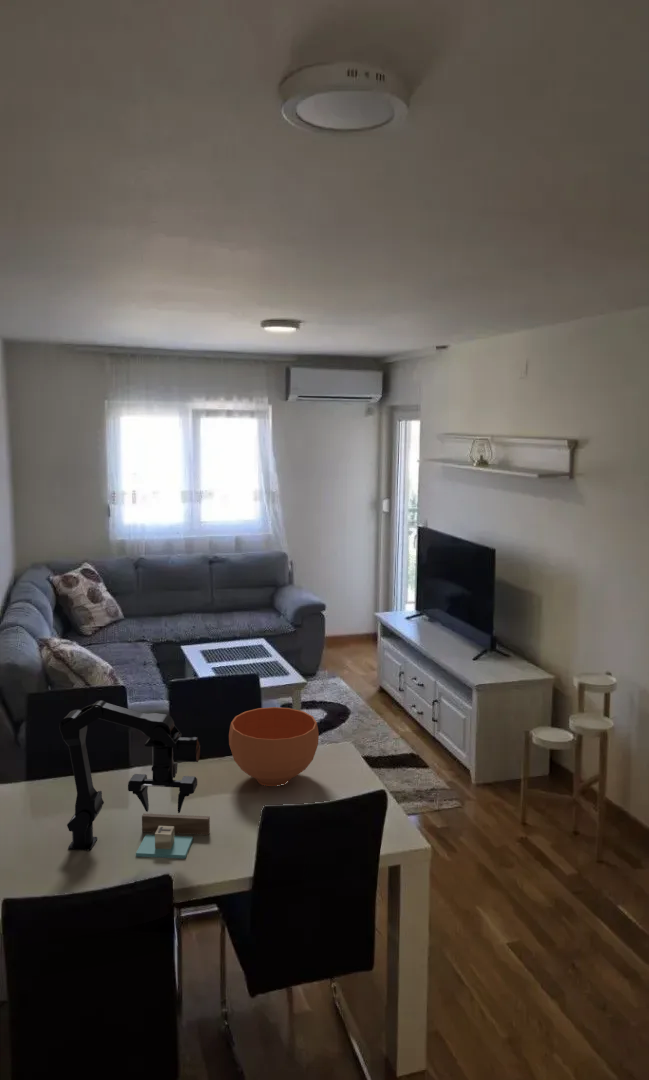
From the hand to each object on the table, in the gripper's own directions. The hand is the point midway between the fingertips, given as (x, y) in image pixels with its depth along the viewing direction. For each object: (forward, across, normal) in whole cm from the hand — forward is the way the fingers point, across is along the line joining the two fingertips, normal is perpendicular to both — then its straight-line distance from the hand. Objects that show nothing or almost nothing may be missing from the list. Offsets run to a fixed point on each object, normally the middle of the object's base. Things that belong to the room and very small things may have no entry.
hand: (163, 811), depth 224 cm
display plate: (+11, 0, 0) cm, 11 cm away
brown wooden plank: (+11, -2, -9) cm, 14 cm away
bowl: (+11, -26, -46) cm, 54 cm away
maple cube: (+10, 0, 0) cm, 10 cm away
